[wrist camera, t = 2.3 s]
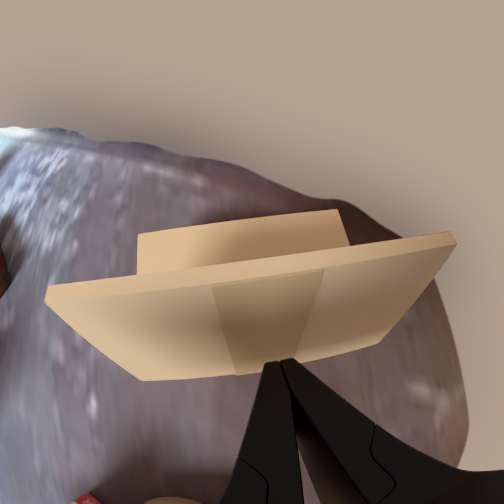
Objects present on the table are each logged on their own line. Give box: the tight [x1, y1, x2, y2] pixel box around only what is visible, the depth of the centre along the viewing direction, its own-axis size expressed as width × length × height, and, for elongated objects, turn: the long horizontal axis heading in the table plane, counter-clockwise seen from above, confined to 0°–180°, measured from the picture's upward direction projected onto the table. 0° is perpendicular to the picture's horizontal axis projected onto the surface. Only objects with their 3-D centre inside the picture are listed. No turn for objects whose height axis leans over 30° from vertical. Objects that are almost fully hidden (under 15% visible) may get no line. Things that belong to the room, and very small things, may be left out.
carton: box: [137, 209, 350, 275], centre depth 19 cm, size 9×14×6 cm, turn 99°
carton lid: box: [44, 232, 457, 381], centre depth 11 cm, size 9×14×1 cm
